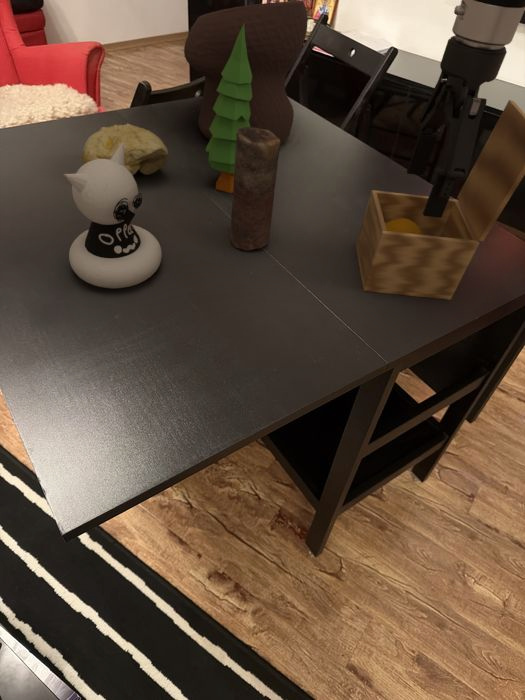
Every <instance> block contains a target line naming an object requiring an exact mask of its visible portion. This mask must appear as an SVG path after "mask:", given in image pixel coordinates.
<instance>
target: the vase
mask: <svg viewBox="0 0 525 700" xmlns="http://www.w3.org/2000/svg"><path fill="white" fill-rule="evenodd" d="M307 11H308V10H307V7H306V4H305V1H304V0H292V1H290V0H289V1H278V2H266V3H256V4H249V5H242V6H235V7H230V8H224V9H219V10H216V11H211V12H209V13H208V12H207V13H205V14H201V15H200V16H198V17H197V19H196V20H195V21H194V24H193V25H192V26H191V29H190V30H189V32H188V35H187V36H186V39H185V42H184V47H183V54H184V58H185V60H186V63H188V64H189V65H190V66H191V68H192V69H194V70H195V71H197V72H198V73H200V74H201V75H203V76H204V87H203V94H202V100H201V106H200V110H199V114H198V118H197V122H198V128H199V130H200V132H201V134H202V135H203V136H204V137H205V138H206V139H207V140H209V141H210V139H211V137H212V133H211V132H210V130H209V128H210V126H211V124H212V122H213V120H214V118H215V116H216V112H215V111H214V110H213V107H214V105H215V103H216V100H217V98H218V96H219V94H220V93H219V92H217V89H218V86H219V84H220V82H221V79H222V77H223V76H222V74H221V73H222V71H223V69H224V68H225V66H226V64H227V62H228V60H229V58H230V56H231V53H232V51H233V48H234V45H235V43H236V40H237V37H238V35H239V33H240V31H241V28H242V26H243V24H244V30H245V42H246V50H247V57H248V62H249V65H250V69H251V73H252V81H251V89H252V98H251V100H250V101H249V106H250V113H251V115H250V118H249V124H250V127H252V128H259V129H265V130H269V131H270V132H272V133H273V134H274V135H275V136H276V137H277V138H279V140H280V146H282V145H283V144H284V143H285V142H286V141H287V139H288V138H289V136H290V133H291V130H292V127H293V123H294V118H295V117H294V116H295V111H294V108H293V107H294V106H293V104H292V103H291V100H290V99H289V97H288V94H287V92H286V85H285V84H286V77H287V75H288V73H289V71H290V69H291V68H292V67H293V66H294V64H295V62H296V61H297V59H298V57H299V56H300V53H301V51H302V48H303V46H304V43H305V39H306V36H307V32H308V19H309V18H308V12H307Z"/></svg>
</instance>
